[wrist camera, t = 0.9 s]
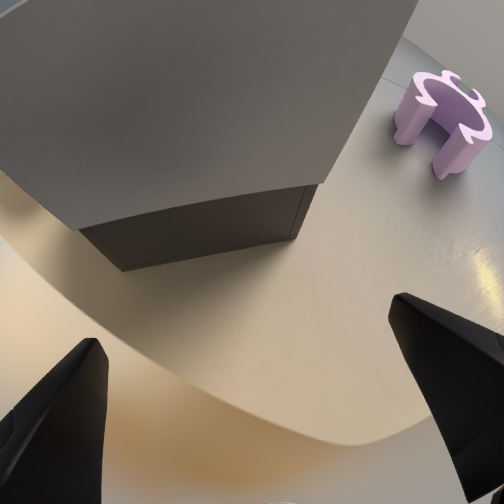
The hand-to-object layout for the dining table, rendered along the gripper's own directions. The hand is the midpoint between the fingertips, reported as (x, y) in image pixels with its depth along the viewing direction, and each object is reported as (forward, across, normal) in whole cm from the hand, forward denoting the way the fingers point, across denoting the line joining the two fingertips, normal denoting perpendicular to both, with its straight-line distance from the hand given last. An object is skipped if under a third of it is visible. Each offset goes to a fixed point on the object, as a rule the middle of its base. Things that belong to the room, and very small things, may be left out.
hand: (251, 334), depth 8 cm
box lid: (+5, +2, -6) cm, 8 cm away
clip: (+26, -31, -5) cm, 41 cm away
